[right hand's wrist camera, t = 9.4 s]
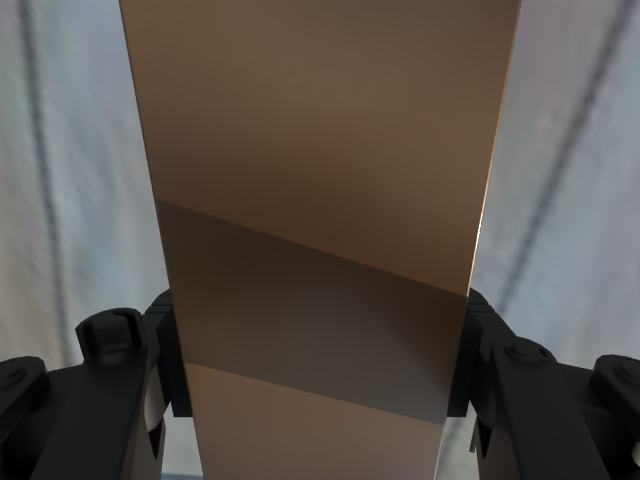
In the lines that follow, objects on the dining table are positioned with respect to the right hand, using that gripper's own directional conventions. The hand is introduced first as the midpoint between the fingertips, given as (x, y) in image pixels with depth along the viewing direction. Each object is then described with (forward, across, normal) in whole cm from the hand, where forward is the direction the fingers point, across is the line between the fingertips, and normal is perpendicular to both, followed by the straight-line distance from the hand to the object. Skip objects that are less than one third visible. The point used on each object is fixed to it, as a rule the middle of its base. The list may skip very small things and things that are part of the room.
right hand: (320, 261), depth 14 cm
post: (+1, 0, -30) cm, 30 cm away
